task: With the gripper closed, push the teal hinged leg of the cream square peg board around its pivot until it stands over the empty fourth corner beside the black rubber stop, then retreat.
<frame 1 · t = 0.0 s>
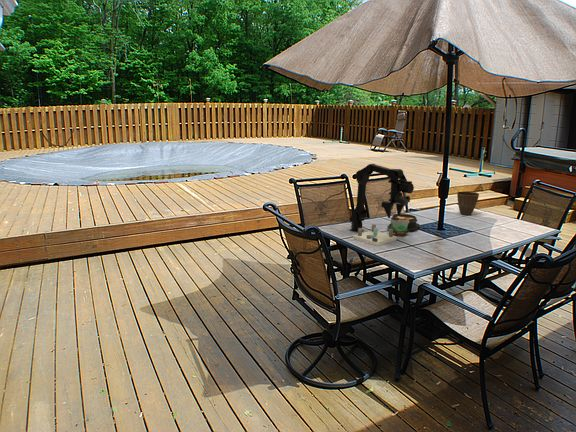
hand: (393, 216, 254), 15 cm above the table, fingers open, 9 cm apart
plant pot: (465, 214, 321), on the table
food container: (400, 235, 269), on the table
cream square peg board: (375, 239, 261), on the table
casserole: (403, 229, 283), on the table
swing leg: (372, 233, 257), point 5 cm above the table, hinge at 90.0°
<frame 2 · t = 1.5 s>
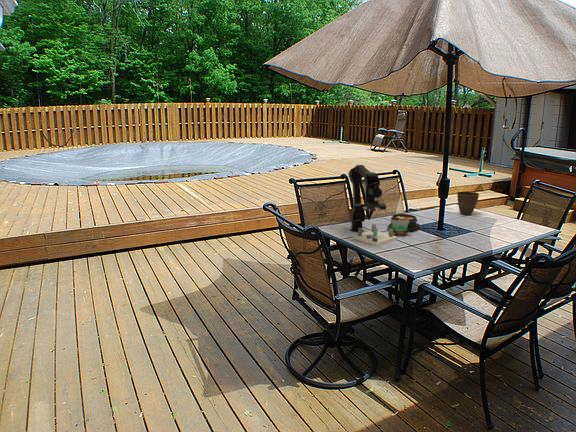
hand: (368, 219, 258), 12 cm above the table, fingers closed
nothing on the table moved.
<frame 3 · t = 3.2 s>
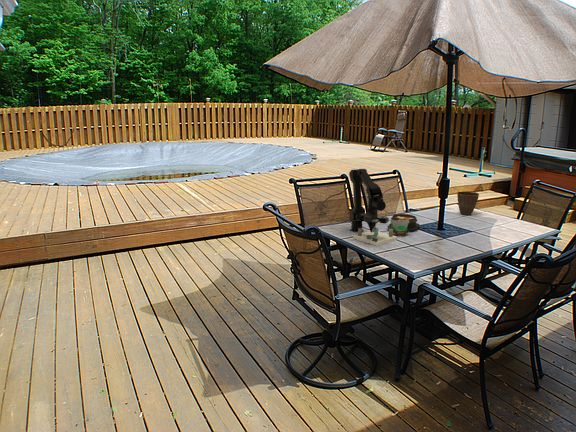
hand: (371, 232, 259), 5 cm above the table, fingers closed
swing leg: (372, 233, 257), point 5 cm above the table, hinge at 84.3°, touching gripper
everything else where it was.
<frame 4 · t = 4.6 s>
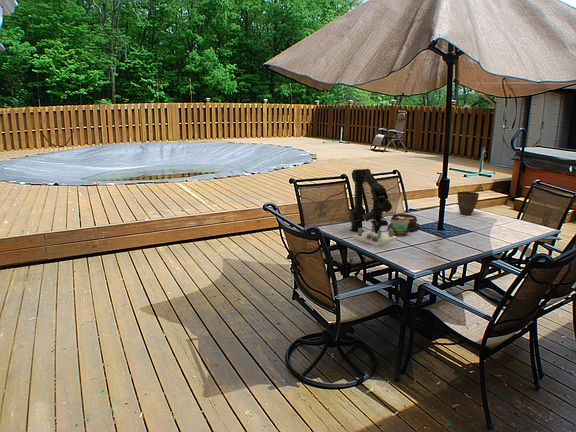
hand: (376, 233, 256), 5 cm above the table, fingers closed
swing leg: (374, 234, 254), point 5 cm above the table, hinge at 38.7°, touching gripper
everything else where it was.
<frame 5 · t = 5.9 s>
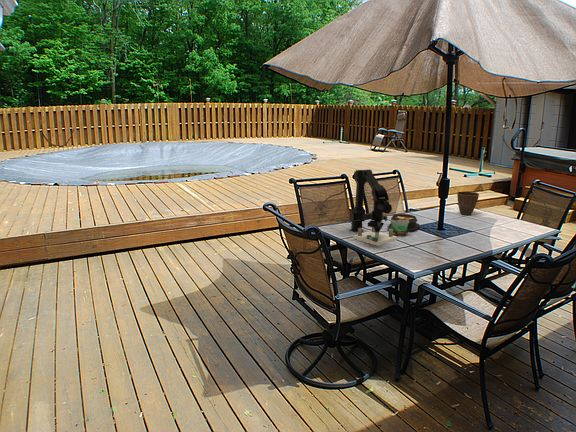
hand: (376, 235, 253), 5 cm above the table, fingers closed
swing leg: (372, 235, 253), point 5 cm above the table, hinge at -1.5°, touching gripper, cream square peg board
everything else where it was.
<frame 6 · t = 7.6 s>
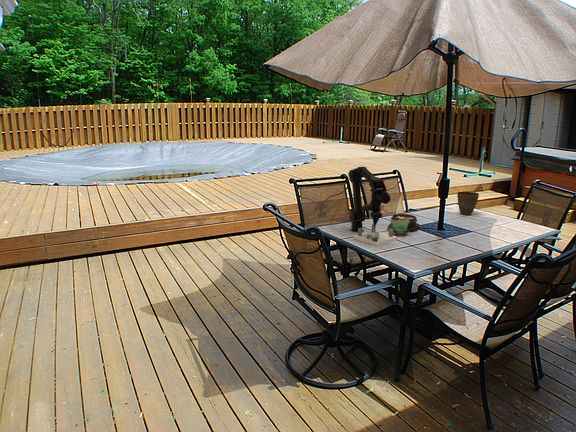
hand: (374, 225, 259), 9 cm above the table, fingers closed
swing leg: (372, 235, 253), point 5 cm above the table, hinge at -1.4°
everything else where it was.
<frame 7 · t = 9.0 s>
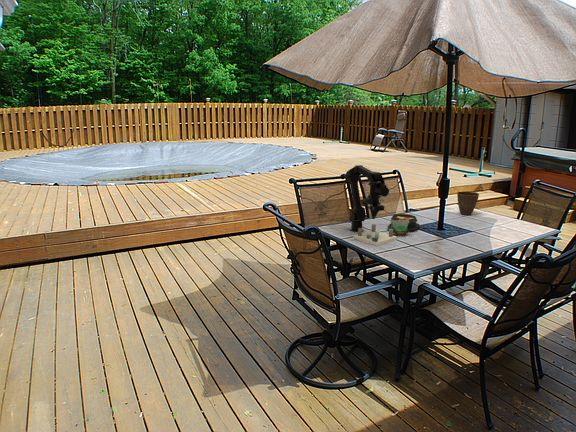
hand: (373, 218, 260), 12 cm above the table, fingers closed
nothing on the table moved.
at the end: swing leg at -1° (first picture: +90°); the gripper is holding nothing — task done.
